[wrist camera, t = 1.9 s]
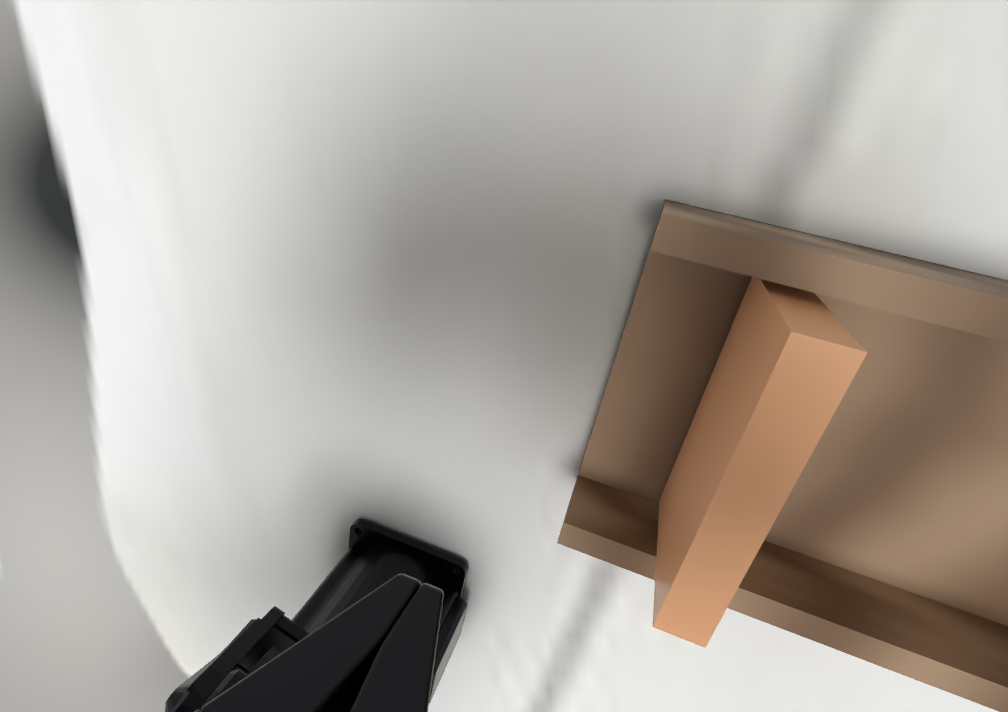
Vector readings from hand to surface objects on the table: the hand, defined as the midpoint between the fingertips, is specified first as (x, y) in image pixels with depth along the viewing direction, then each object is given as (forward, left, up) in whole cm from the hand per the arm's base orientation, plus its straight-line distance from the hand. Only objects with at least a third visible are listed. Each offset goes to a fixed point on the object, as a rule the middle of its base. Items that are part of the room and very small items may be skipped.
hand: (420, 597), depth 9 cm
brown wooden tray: (+11, 0, -13) cm, 17 cm away
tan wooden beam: (+6, 0, -12) cm, 13 cm away
